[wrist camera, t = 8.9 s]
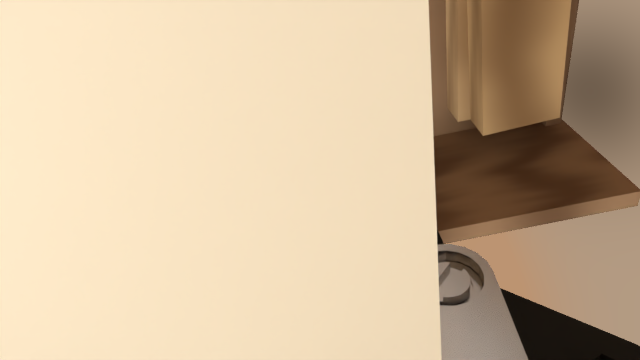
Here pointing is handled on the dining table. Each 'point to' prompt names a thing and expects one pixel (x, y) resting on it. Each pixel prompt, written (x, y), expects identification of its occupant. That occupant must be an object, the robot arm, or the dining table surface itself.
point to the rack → (513, 164)
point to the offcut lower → (457, 59)
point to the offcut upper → (516, 61)
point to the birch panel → (217, 180)
